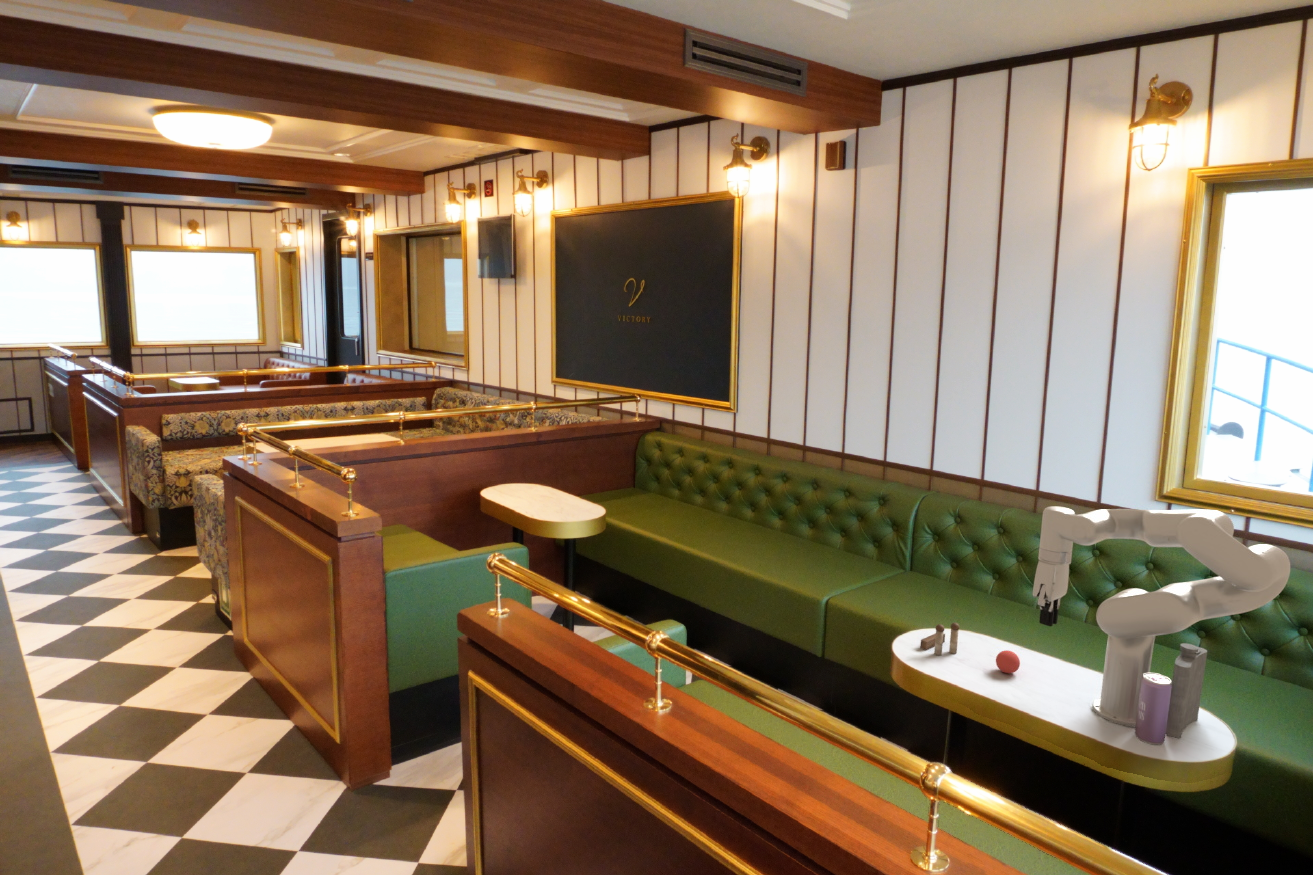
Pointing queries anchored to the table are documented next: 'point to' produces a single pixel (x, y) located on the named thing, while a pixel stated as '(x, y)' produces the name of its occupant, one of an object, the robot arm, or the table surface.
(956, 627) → the pin
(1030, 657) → the table surface
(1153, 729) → the beverage can
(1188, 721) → the hip flask
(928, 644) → the stopper wall
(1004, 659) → the ball
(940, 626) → the pin
